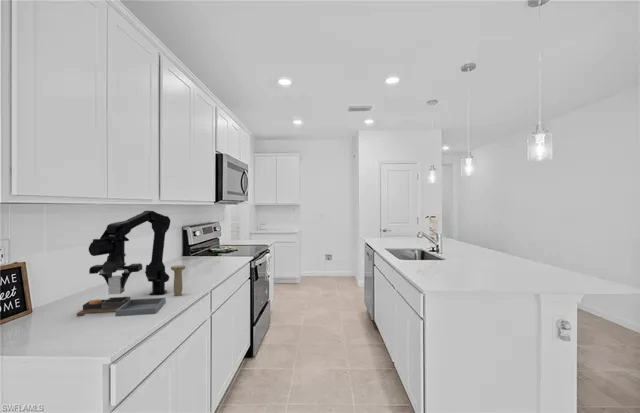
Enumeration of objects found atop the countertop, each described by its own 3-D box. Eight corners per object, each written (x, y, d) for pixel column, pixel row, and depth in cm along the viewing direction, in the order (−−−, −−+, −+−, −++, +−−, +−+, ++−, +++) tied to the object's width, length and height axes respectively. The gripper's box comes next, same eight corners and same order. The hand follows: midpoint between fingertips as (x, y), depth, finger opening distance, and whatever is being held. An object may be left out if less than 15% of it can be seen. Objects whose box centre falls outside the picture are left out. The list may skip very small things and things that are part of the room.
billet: (113, 291, 133) (113, 275, 133) (124, 291, 134) (124, 275, 134) (108, 294, 129) (108, 278, 129) (120, 294, 130) (120, 277, 130)
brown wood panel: (95, 304, 137) (95, 296, 137) (133, 302, 140) (133, 294, 140) (76, 316, 122) (76, 307, 122) (120, 313, 125) (120, 304, 125)
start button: (92, 305, 132) (92, 299, 132) (103, 304, 133) (103, 299, 133) (86, 308, 127) (86, 303, 127) (98, 308, 128) (98, 302, 128)
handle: (171, 295, 150) (171, 265, 150) (185, 294, 153) (185, 265, 153) (170, 298, 146) (170, 267, 146) (184, 297, 148) (185, 266, 148)
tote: (129, 306, 134) (129, 299, 134) (165, 304, 138) (165, 297, 138) (115, 318, 120) (115, 310, 120) (155, 315, 123) (155, 308, 123)
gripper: (82, 256, 122) (81, 294, 122) (133, 254, 126) (133, 292, 126) (96, 251, 133) (95, 287, 133) (142, 250, 137) (142, 285, 137)
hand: (116, 288), depth 132 cm, fingers closed on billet, 4 cm apart
